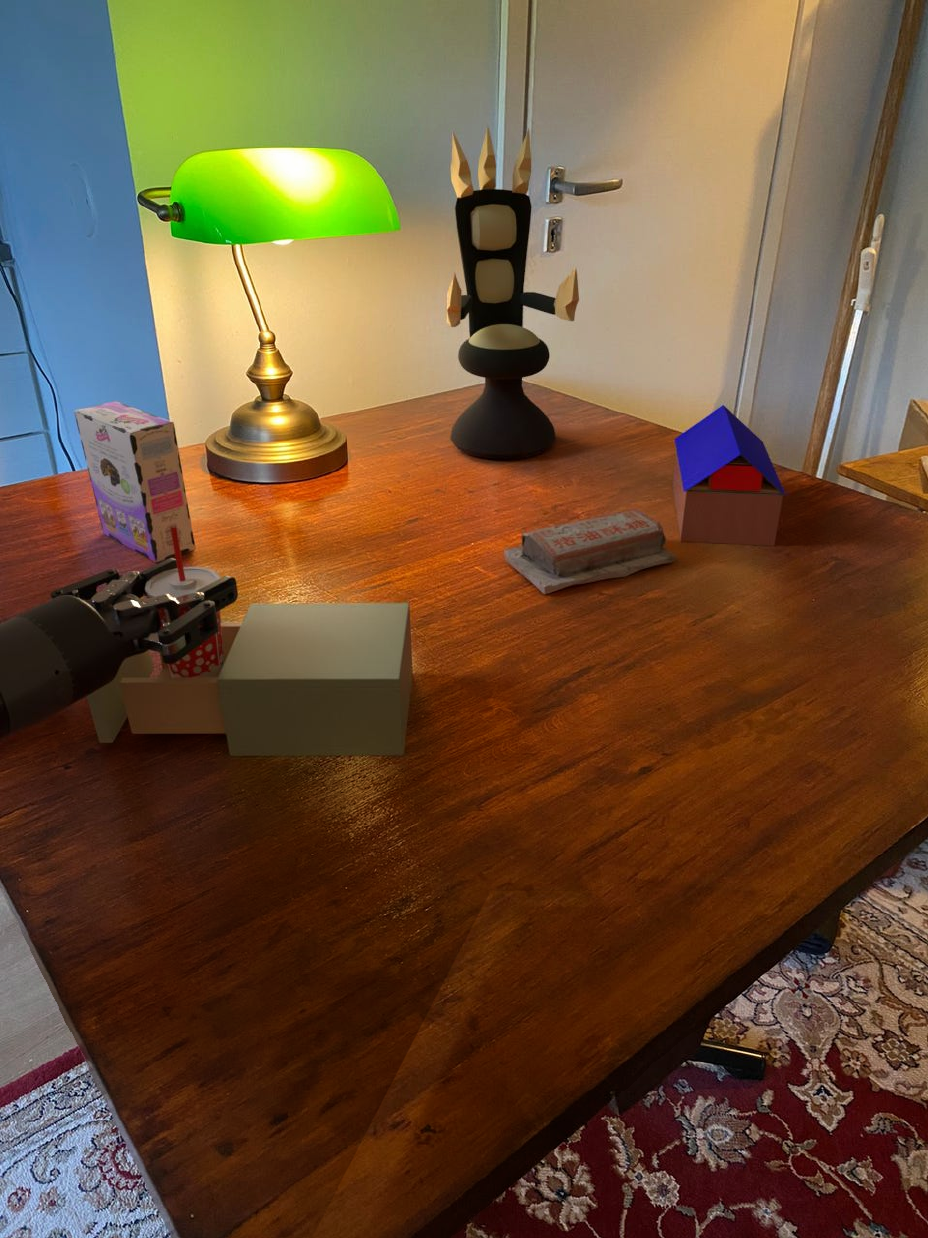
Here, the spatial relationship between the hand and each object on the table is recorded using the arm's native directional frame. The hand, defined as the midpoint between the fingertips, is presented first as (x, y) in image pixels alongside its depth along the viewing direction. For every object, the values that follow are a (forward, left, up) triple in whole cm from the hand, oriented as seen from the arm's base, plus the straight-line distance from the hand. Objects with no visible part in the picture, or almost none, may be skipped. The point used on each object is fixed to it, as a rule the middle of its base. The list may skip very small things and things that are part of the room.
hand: (204, 577), depth 78 cm
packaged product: (+37, +28, -13) cm, 48 cm away
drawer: (-4, -2, -12) cm, 13 cm away
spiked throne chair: (+27, +73, -13) cm, 79 cm away
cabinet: (+10, -2, -13) cm, 16 cm away
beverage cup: (-1, -2, -9) cm, 9 cm away
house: (+56, +43, -13) cm, 72 cm away
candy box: (-18, +35, -13) cm, 42 cm away
